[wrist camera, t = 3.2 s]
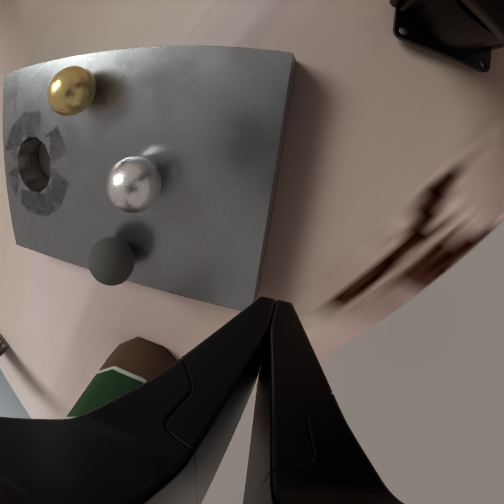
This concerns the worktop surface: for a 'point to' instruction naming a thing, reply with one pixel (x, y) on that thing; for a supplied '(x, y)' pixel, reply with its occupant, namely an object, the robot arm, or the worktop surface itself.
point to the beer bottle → (123, 373)
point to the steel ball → (133, 184)
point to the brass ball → (71, 90)
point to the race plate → (156, 163)
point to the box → (3, 346)
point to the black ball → (111, 261)
